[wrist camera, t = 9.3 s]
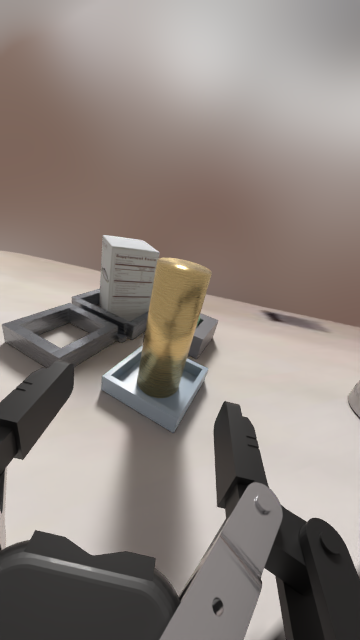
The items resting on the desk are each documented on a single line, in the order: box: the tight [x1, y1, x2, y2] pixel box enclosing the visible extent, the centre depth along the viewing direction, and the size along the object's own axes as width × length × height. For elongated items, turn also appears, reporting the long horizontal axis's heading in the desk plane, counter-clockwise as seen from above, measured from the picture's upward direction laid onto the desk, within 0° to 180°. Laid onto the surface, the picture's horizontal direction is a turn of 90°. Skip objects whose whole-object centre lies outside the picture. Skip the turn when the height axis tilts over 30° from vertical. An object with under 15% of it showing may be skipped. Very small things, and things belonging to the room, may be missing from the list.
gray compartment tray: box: [2, 289, 149, 368], centre depth 35 cm, size 12×23×2 cm, turn 155°
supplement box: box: [99, 235, 159, 321], centre depth 37 cm, size 7×7×13 cm
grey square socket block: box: [188, 313, 218, 359], centre depth 36 cm, size 8×8×4 cm
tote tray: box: [101, 345, 208, 433], centre depth 26 cm, size 9×9×2 cm
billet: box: [137, 258, 212, 398], centre depth 23 cm, size 5×5×14 cm
